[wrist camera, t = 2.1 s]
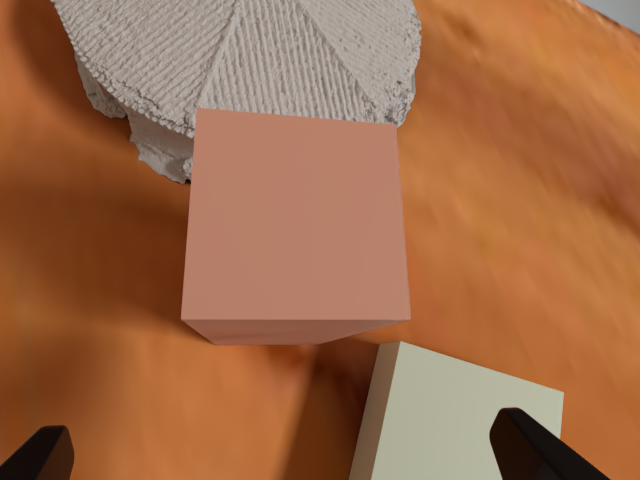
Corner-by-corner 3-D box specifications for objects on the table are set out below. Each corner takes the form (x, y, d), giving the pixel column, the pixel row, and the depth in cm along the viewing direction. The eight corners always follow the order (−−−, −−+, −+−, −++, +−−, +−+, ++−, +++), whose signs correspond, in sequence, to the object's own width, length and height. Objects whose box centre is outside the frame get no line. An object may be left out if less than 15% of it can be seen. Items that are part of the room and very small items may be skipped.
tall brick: (318, 344, 21) (411, 319, 10) (215, 345, 20) (180, 319, 9) (317, 247, 22) (395, 124, 11) (220, 243, 21) (196, 107, 10)
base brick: (501, 565, 19) (546, 599, 17) (338, 521, 19) (356, 548, 16) (522, 389, 22) (563, 392, 19) (379, 344, 21) (400, 341, 18)
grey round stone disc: (-8, 26, 23) (-107, -102, 17) (253, -123, 29) (255, -259, 23) (249, 279, 22) (251, 248, 15) (466, 69, 28) (533, -17, 21)
